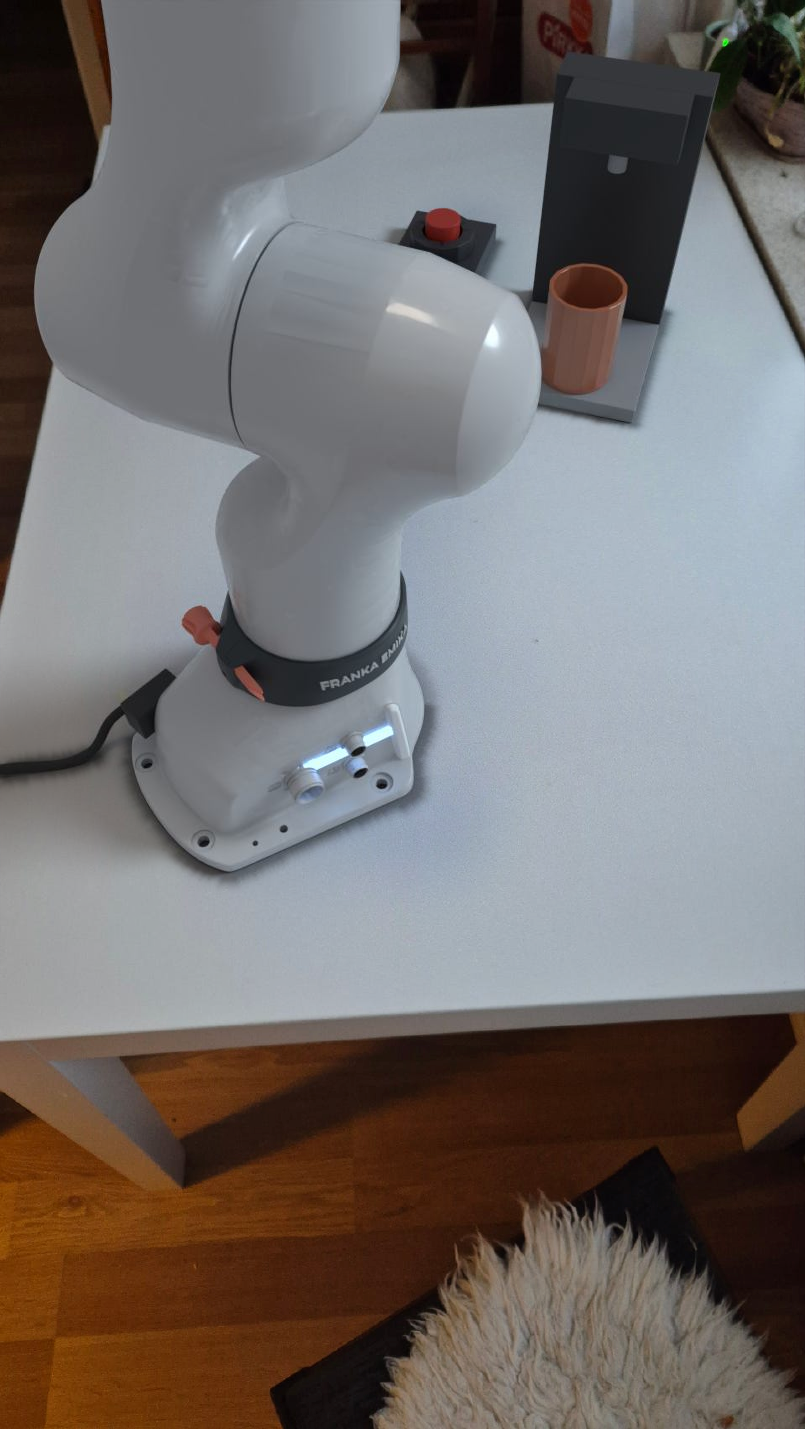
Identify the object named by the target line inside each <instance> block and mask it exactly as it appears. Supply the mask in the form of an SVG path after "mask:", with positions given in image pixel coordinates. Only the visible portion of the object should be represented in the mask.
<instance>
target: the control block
mask: <svg viewBox="0 0 805 1429" xmlns="http://www.w3.org/2000/svg"><path fill="white" fill-rule="evenodd" d="M428 212H429V211H423V210H416V211H415V212H414V215H413V216H412V219H411V220H410V222H409V224H408V226H407V228H406V230H405V232H404V234H403V235H402V238H401V239H400V241H399V243H398V245H400V246H404V247H409V248H413V249H417V250H421V251H426V252H430V253H432V254H434V255H437V256H439V257H441V258H443V259H445V260H447V261H450V262H452V263H454V264H456V265H458V266H460V267H463V268H465V269H467V270H469V271H471V272H474V273H476V274H478V275H479V276H481V275H482V273H483V271H484V269H485V266H486V264H487V262H488V260H489V258H490V256H491V253H492V251H493V249H494V247H495V244H496V239H497V238H496V237H497V226H498V225H497V223H493V222H492V223H491V222H487V221H480V220H475V219H469V218H466V217H464V216H463V215H461V214H459V216H460V235H459V237H458V238H457V239H455V240H453V241H449V242H437V241H431V240H430V239H428V238H427V237H426V235H425V217H426V215H427V213H428ZM481 277H482V276H481Z"/></svg>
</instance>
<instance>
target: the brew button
mask: <svg viewBox="0 0 805 1429" xmlns="http://www.w3.org/2000/svg"><path fill="white" fill-rule="evenodd" d="M427 212H428V213H427V215H426V217H425V235H426V237H427V238H428V239H430V240H431V241H437V242H449V241H453V240H455V239H457V238H458V237H459V235H460V216H459V215H460V214H459V213H458V211H456V210H454V209H452V208H447V207H439V208H434V209H432V210H429V211H427Z"/></svg>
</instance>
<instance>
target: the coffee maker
mask: <svg viewBox="0 0 805 1429" xmlns="http://www.w3.org/2000/svg"><path fill="white" fill-rule="evenodd" d="M720 77H721V72H715V71H708V70H700V69H693V68H686V67H680V66H674V65H673V66H672V65H665V64H657V63H652V62H645V61H638V60H629V59H623V58H616V57H609V56H602V55H594V54H587V53H581V52H573V51H566V54H565V56H564V58H563V60H562V62H561V64H560V67H559V69H558V71H557V73H556V78H555V79H556V80H555V87H554V97H553V104H552V114H551V123H550V125H551V126H550V133H549V141H548V150H547V160H546V169H545V178H544V186H543V195H542V196H543V197H542V203H541V214H540V222H539V223H540V224H539V230H538V231H539V232H538V239H537V240H538V241H537V249H536V256H535V257H536V258H535V267H534V276H533V286H532V293H531V294H532V295H531V302H530V304H529V307H528V310H527V312H528V314H529V317H530V319H531V321H532V324H533V326H534V329H535V333H536V336H537V339H538V344H539V350H540V356H541V348H542V340H543V332H544V324H545V316H546V308H547V301H548V293H549V285H550V279H551V278H552V277H553V276H554V274H555V273H556V272H557V271H559V270H561V269H563V268H565V267H567V266H570V265H575V264H581V263H582V264H583V263H585V264H597V265H601V266H604V267H607V268H610V269H612V270H613V271H615V272H616V273H618V274H619V275H621V276H622V278H623V279H624V281H625V282H626V284H627V297H626V302H625V307H624V312H623V317H622V322H621V327H620V332H619V337H618V342H617V347H616V352H615V357H614V362H613V367H612V372H611V375H610V378H609V380H608V382H607V383H606V384H605V385H604V386H603V387H602V388H600V389H599V390H597V391H595V392H592V393H588V394H578V395H577V394H567V393H563V392H560V391H557V390H555V389H553V388H551V387H550V386H549V385H547V384H546V383H545V382H544V380H543V379H542V377H541V390H540V397H539V402H538V405H542V406H546V407H553V408H557V409H561V410H567V411H572V412H577V413H580V414H581V413H582V414H587V415H591V416H596V417H601V418H607V419H611V420H616V421H621V422H625V423H630V424H631V423H633V421H634V417H635V415H636V410H637V407H638V403H639V401H640V400H639V399H640V396H641V393H642V389H643V386H644V382H645V379H646V376H647V371H648V368H649V366H650V361H651V358H652V354H653V351H654V347H655V343H656V340H657V336H658V334H659V329H660V326H661V322H662V318H663V315H664V311H665V308H666V302H667V300H668V299H667V298H668V295H669V291H670V286H671V282H672V277H673V273H674V270H675V265H676V262H677V257H678V253H679V249H680V244H681V240H682V236H683V232H684V228H685V224H686V219H687V216H688V211H689V207H690V203H691V198H692V194H693V191H694V186H695V181H696V178H697V173H698V169H699V165H700V161H701V157H702V152H703V148H704V144H705V140H706V136H707V133H708V132H707V131H708V127H709V123H710V119H711V115H712V111H713V106H714V103H715V99H716V94H717V90H718V86H719V81H720Z"/></svg>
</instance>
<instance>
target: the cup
mask: <svg viewBox="0 0 805 1429" xmlns="http://www.w3.org/2000/svg"><path fill="white" fill-rule="evenodd" d="M626 297H627V284H626V282H625V281H624V279H623V278H622V276H621V275H619V274H618V273H616V272H615V271H613V270H612V269H610V268H607V267H604V266H601V265H597V264H585V263H583V264H582V263H581V264H575V265H570V266H567V267H565V268H563V269H561V270H559V271H557V272H556V273H555V274H554V276H553V277H552V278H551V279H550V285H549V293H548V301H547V308H546V316H545V324H544V332H543V340H542V348H541V371H542V376H541V377H542V379H543V380H544V382H545V383H546V384H547V385H549V386H550V387H551V388H553V389H555V390H557V391H560V392H563V393H567V394H577V395H578V394H588V393H592V392H595V391H597V390H599V389H600V388H602V387H603V386H604V385H605V384H606V383H607V382H608V380H609V378H610V375H611V372H612V367H613V362H614V357H615V352H616V347H617V342H618V337H619V332H620V327H621V322H622V317H623V312H624V307H625V302H626Z"/></svg>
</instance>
